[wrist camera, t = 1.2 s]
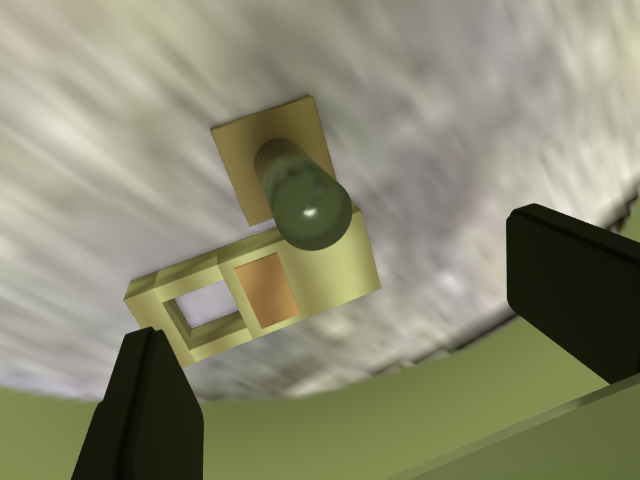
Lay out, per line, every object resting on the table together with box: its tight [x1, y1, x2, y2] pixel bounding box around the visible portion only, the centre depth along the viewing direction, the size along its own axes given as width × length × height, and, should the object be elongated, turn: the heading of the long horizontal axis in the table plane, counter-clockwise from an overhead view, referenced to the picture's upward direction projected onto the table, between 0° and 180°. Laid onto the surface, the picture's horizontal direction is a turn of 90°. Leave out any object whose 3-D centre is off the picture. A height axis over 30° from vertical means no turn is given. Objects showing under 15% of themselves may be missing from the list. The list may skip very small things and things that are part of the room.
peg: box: [254, 138, 353, 251], centre depth 25 cm, size 4×4×12 cm
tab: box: [211, 95, 337, 226], centre depth 31 cm, size 8×8×2 cm
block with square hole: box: [123, 201, 381, 368], centre depth 34 cm, size 20×8×3 cm, turn 107°
